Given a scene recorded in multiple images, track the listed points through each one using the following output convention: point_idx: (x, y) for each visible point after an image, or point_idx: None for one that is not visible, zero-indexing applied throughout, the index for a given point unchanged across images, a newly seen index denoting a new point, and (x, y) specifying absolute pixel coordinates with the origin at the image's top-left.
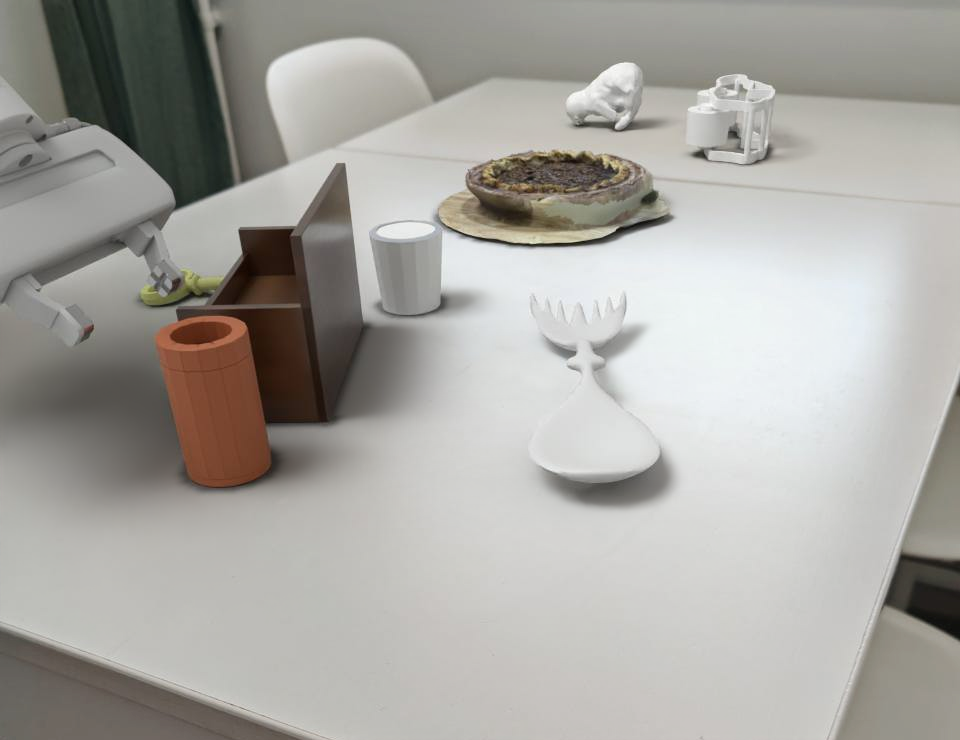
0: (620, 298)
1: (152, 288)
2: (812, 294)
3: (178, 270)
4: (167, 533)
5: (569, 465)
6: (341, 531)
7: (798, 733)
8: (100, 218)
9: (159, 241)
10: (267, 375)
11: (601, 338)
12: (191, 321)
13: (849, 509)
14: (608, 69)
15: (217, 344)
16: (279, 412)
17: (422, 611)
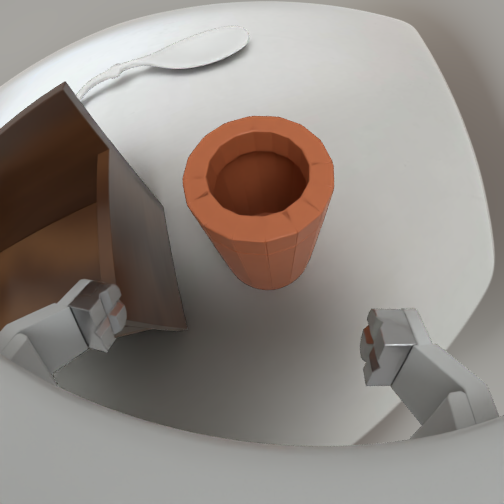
0: None
1: None
2: (37, 80)
3: (77, 285)
4: (387, 238)
5: (237, 41)
6: (328, 125)
7: (358, 12)
8: (47, 426)
9: (27, 322)
10: (150, 234)
11: None
12: (216, 208)
13: (226, 8)
14: None
15: (293, 127)
16: (166, 243)
17: (372, 78)
